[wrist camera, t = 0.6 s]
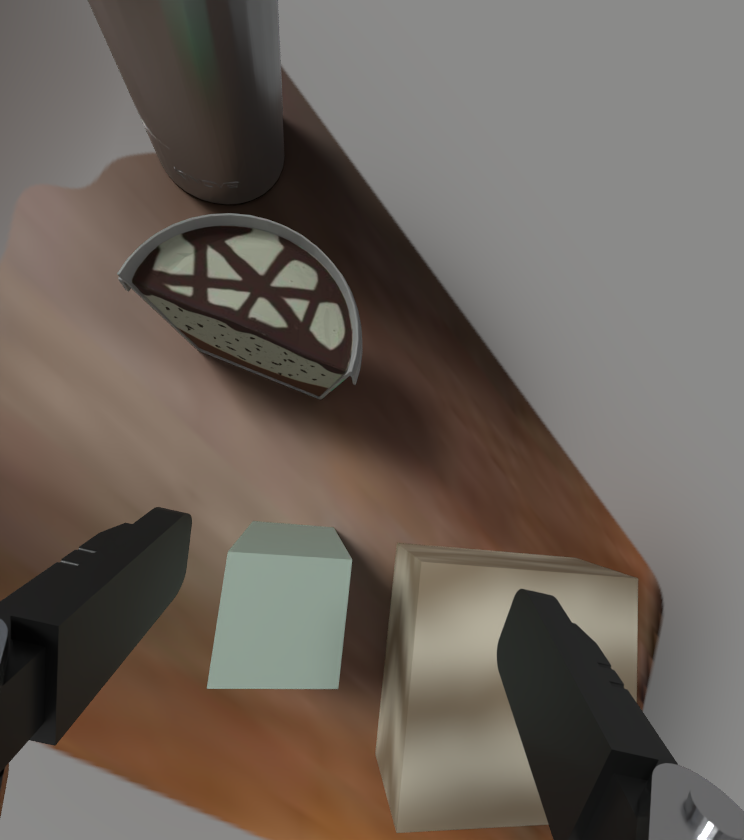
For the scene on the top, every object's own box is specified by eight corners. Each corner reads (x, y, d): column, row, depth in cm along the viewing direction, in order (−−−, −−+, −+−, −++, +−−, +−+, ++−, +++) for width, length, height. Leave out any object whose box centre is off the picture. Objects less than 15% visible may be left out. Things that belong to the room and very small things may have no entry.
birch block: (395, 541, 28) (421, 561, 22) (573, 557, 31) (638, 578, 25) (374, 750, 26) (396, 832, 20) (566, 747, 29) (635, 819, 23)
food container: (368, 335, 29) (403, 269, 19) (339, 407, 28) (361, 376, 18) (213, 267, 27) (166, 158, 18) (176, 341, 26) (104, 268, 17)
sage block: (253, 521, 26) (227, 551, 17) (333, 527, 27) (352, 559, 18) (240, 606, 25) (206, 688, 16) (324, 609, 26) (338, 688, 17)
